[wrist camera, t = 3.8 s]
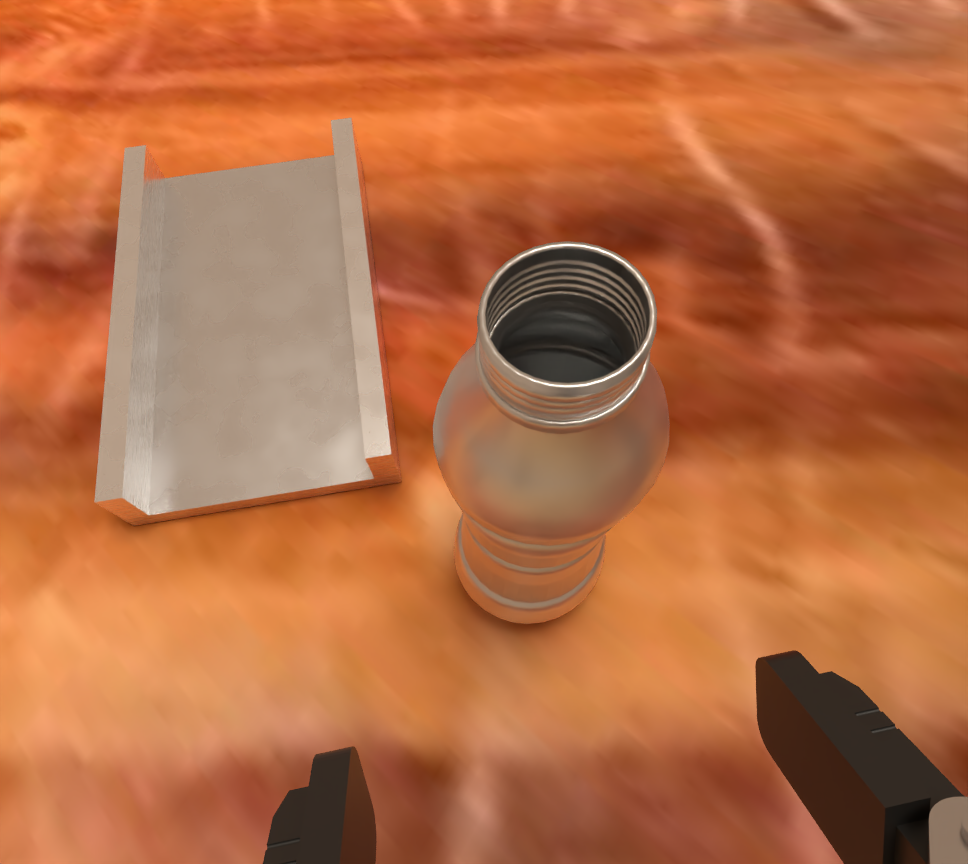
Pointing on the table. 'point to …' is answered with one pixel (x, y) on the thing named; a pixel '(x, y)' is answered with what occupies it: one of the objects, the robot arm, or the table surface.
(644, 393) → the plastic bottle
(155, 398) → the aluminium track
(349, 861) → the robot arm
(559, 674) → the table surface
